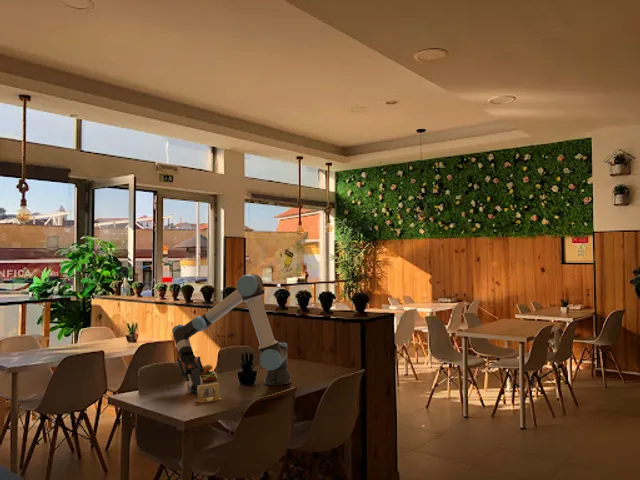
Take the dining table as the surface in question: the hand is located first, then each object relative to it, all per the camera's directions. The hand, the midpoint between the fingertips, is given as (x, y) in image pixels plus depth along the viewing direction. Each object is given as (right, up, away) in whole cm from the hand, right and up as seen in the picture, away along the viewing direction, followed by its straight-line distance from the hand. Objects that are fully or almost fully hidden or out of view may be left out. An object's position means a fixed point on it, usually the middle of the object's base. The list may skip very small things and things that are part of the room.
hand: (196, 385), depth 285 cm
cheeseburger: (-1, -7, +35) cm, 35 cm away
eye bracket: (+9, -4, -13) cm, 16 cm away
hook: (+2, -4, -4) cm, 6 cm away
